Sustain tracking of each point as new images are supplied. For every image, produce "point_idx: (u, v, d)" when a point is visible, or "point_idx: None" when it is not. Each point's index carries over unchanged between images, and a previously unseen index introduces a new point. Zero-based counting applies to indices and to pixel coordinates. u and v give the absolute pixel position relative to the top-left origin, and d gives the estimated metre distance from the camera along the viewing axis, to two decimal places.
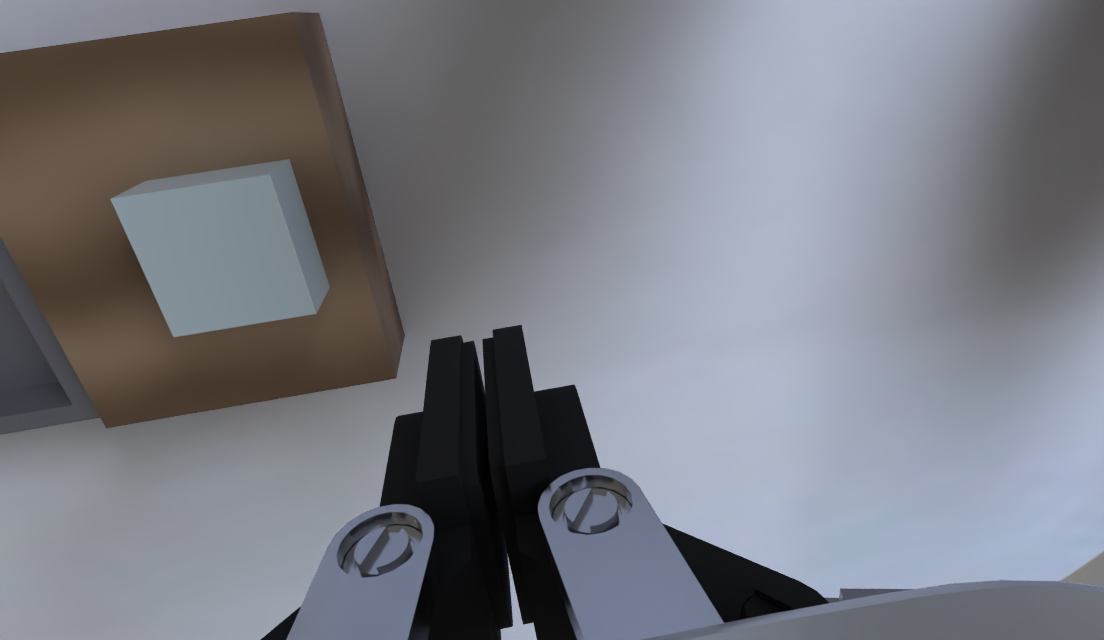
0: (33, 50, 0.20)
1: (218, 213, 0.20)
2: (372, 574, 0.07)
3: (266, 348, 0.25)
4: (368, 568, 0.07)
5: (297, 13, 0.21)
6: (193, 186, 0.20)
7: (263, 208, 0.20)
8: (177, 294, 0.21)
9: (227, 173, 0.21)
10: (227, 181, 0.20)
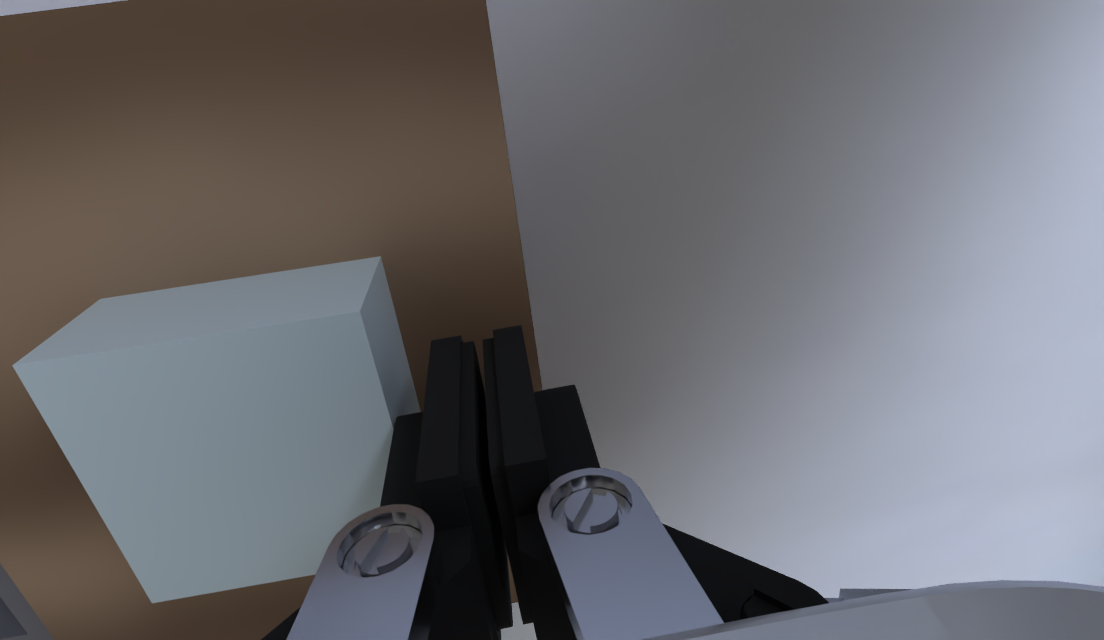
0: None
1: (246, 388, 0.10)
2: (372, 574, 0.07)
3: None
4: (368, 568, 0.07)
5: None
6: (194, 337, 0.09)
7: (341, 376, 0.10)
8: (159, 533, 0.11)
9: (264, 294, 0.10)
10: (268, 326, 0.09)
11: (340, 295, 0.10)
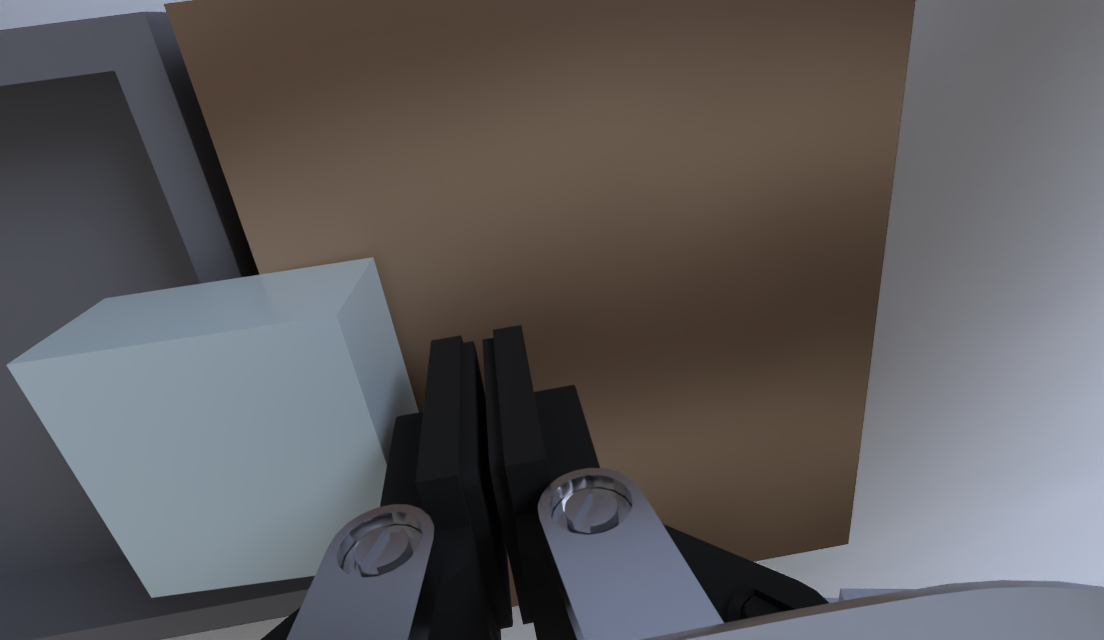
0: None
1: (229, 391, 0.10)
2: (372, 574, 0.07)
3: (670, 506, 0.15)
4: (368, 568, 0.07)
5: None
6: (176, 339, 0.09)
7: (321, 380, 0.10)
8: (154, 530, 0.11)
9: (252, 295, 0.10)
10: (246, 329, 0.09)
11: (323, 298, 0.10)
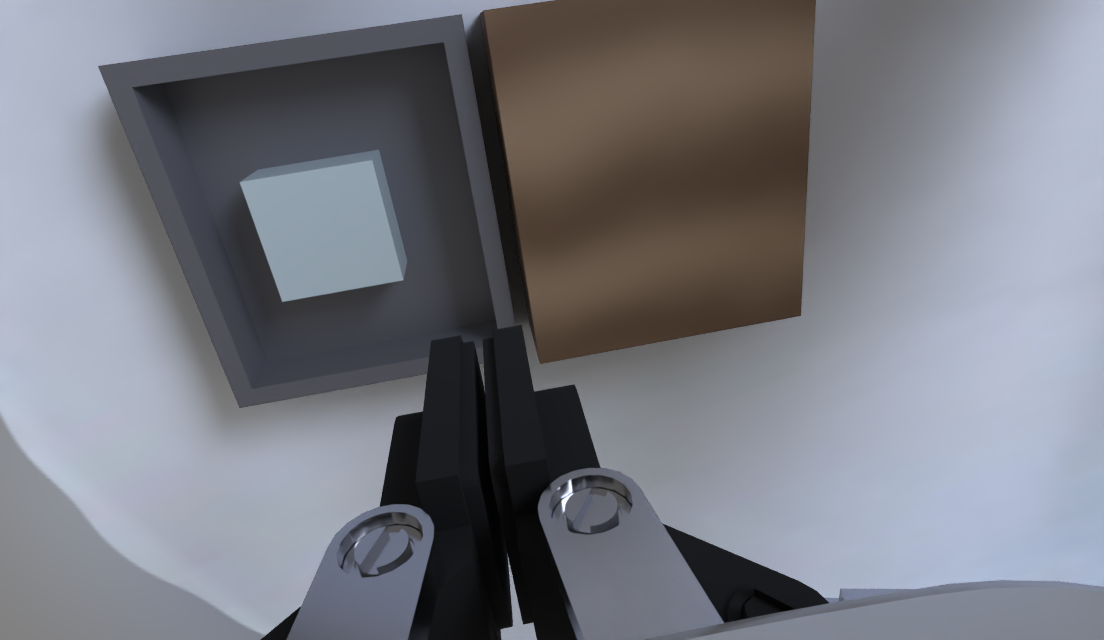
0: None
1: None
2: (372, 574, 0.07)
3: (700, 285, 0.27)
4: (368, 568, 0.07)
5: None
6: (317, 160, 0.26)
7: None
8: None
9: (294, 168, 0.25)
10: (290, 164, 0.26)
11: (263, 171, 0.25)
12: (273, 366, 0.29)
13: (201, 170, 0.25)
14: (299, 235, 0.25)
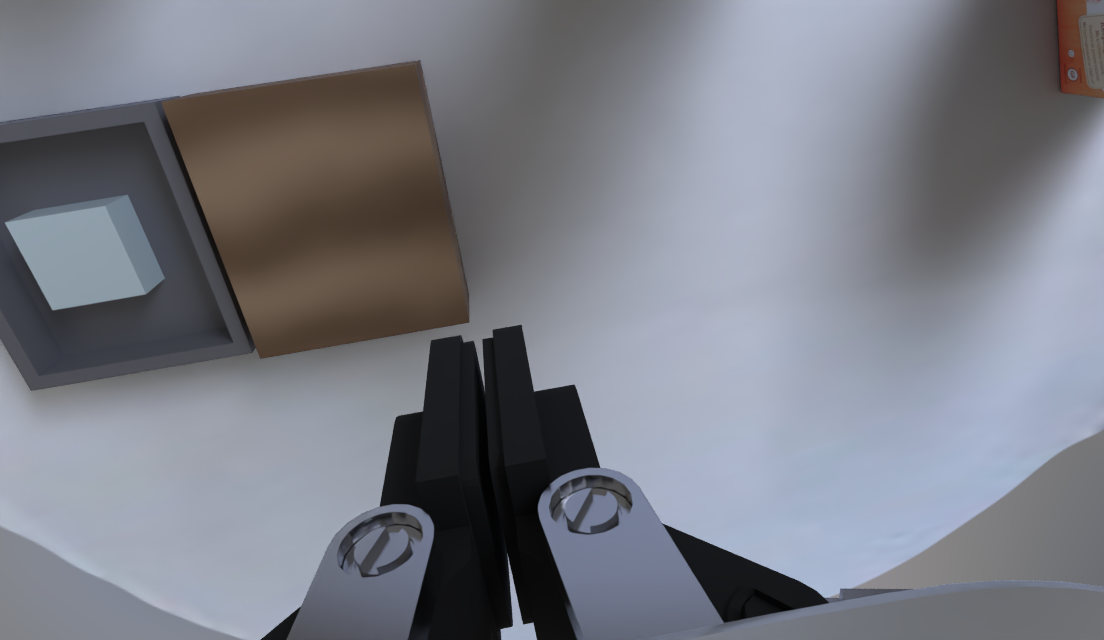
0: (244, 90, 0.30)
1: None
2: (372, 574, 0.07)
3: (379, 299, 0.35)
4: (368, 568, 0.07)
5: (415, 64, 0.31)
6: (79, 203, 0.34)
7: None
8: None
9: (53, 210, 0.33)
10: (59, 206, 0.34)
11: (33, 212, 0.33)
12: (66, 358, 0.37)
13: None
14: (57, 260, 0.33)
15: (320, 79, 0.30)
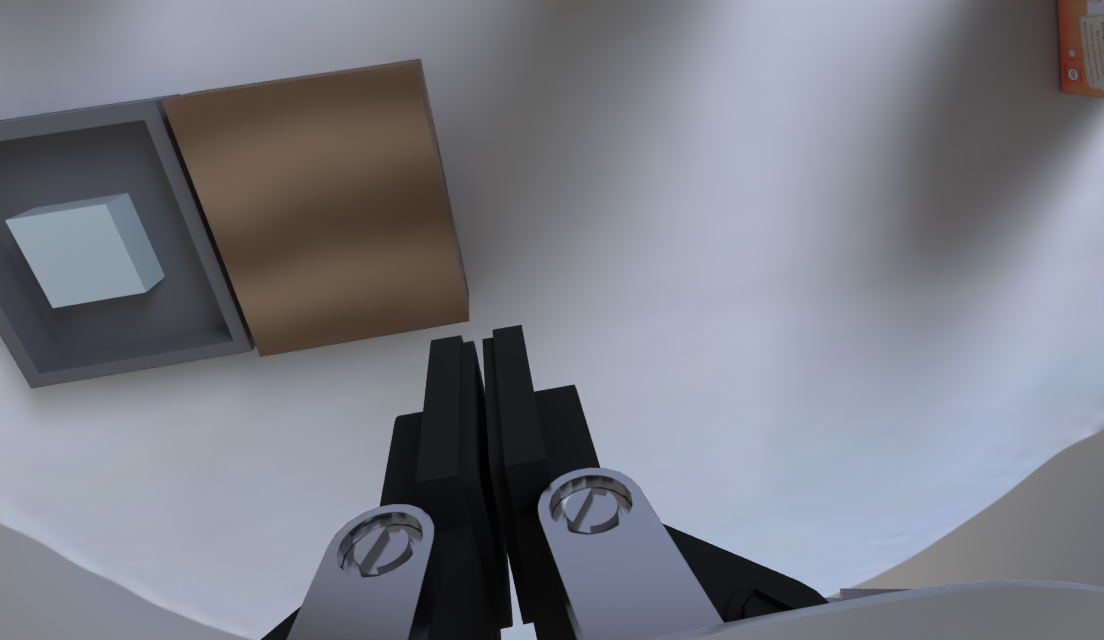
0: (244, 89, 0.30)
1: None
2: (372, 574, 0.07)
3: (379, 297, 0.35)
4: (368, 568, 0.07)
5: (416, 62, 0.31)
6: (79, 201, 0.34)
7: None
8: None
9: (53, 208, 0.33)
10: (59, 204, 0.34)
11: (33, 210, 0.33)
12: (66, 356, 0.37)
13: None
14: (57, 258, 0.33)
15: (320, 77, 0.30)
